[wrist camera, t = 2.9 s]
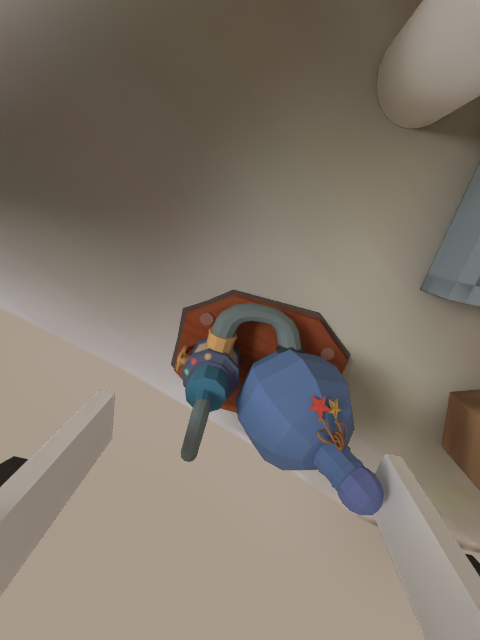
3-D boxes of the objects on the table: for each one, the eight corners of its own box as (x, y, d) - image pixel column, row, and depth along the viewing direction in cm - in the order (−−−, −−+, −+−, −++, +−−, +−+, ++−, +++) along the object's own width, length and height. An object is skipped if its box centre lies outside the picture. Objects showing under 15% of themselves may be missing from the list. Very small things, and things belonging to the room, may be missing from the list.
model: (363, 325, 17) (475, 422, 9) (313, 429, 20) (357, 579, 12) (190, 275, 17) (122, 324, 8) (166, 390, 20) (97, 516, 11)
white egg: (363, 117, 13) (443, 36, 8) (398, 5, 12) (530, -196, 6) (444, 137, 14) (581, 71, 8) (489, 28, 12) (698, -150, 6)
